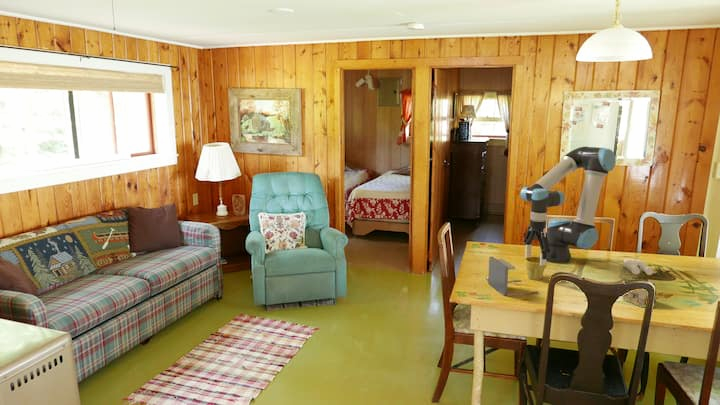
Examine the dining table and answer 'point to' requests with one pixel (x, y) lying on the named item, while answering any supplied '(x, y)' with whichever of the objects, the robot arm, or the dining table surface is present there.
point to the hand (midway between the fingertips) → (535, 261)
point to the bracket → (501, 276)
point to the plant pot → (534, 268)
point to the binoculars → (638, 266)
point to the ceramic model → (638, 297)
